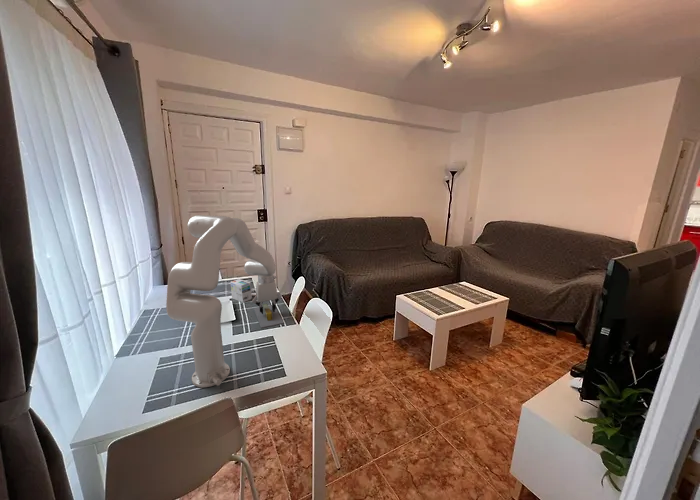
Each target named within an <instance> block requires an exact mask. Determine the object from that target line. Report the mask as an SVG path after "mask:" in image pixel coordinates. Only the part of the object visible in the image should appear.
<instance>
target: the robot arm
mask: <svg viewBox="0 0 700 500" xmlns="http://www.w3.org/2000/svg"><path fill="white" fill-rule="evenodd" d="M187 231H188V233H189V234H190V236H192V237H194V238H196V239H198V240H197V241H196V243H195V244H194V247H193V252H192V260H191V261H181V262H178V263H176V264H174V265H173V266H172V268H171V269H170V272H169V273H168V277H167V285H166V288H167V291H166V304H165V306H166V309H165V310H166V315H167V316H168V317H169V318H170V319H172V320H174V321H179V322H186V323H187V322H188V323H193V324H194V325H195V326H194V328H193V329H192V331H191V333H190V342H191V346H192V355H193V360H194V361H193V362H194V369H195V371H194V372H193V374H192V375H191V383H192V384H193V385H194V386H195V387H197V388H211V387H213V386H221V384H222V382H223V381H225V380H226V379H227V378H228V376H229V375H230V372H231V368H230V365H229V364H228V363H226V362H225V356H224V354H225V353H224V345H223V337H222V325H221V322H222V321H221V318H222V309H223V307H222V306H223V305H222V302H221V300H220V299H219V298H218V297H216V296H213V295H209V294H201V293H191V291H197V292H198V291H200V292H210V291H211V292H212V291H213V290H215V289H216V288H217V287H218V284H219V281H220V280H219V278H220V266H221V256H222V255H221V253H222V250H223V248H224V247H225V245H226V243H227V242H228V241H230V243H231V244H232V245H233V247H234V249H235V250H236V253H238V255H240V256H242V257H245V258H247V259H248V260H247V261H246V262H245V263H244V266H243V269H244V272H245V274H247V275H251V276H257V282H256V284H255V285H256V286H255V287H256V288H255V296H254V297H253V298H252V299H251V302H252V304H255V305H257V306H258V308H260V312H261V313H262V314H263V304H264V302H270V301H271V305H272V310H273V312H275V309H277V307H276V305H277V303H278V302H279V300H281V299H282V298H283V297H282V295H281V294H280V293H279V292H278V290H277V289H278V288H277V284H276V280H275V279H277V275H275V273H276V271H277V267H276V266H277V265H276V262H275V259H274V257H273V256H272V253H270V252H269V251H268V250H267V249H266V248H264V247H263V246H261V245H260V244H258V243H256V240H255V239H254V236H253V235H252V233H251V231H250V229H249V227H248V225H247V223H246V222H245V221H244V220H243V219H241V218H238V217H237V218H236V217H235V218H234V217H230V216H224V215H205V214H204V215H203V214H200V215H199V214H198V215H194V216H192V217H191V218H190V219H189V220H188V223H187Z"/></svg>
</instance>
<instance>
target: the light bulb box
mask: <svg viewBox="0 0 700 500" xmlns="http://www.w3.org/2000/svg"><path fill="white" fill-rule="evenodd" d="M251 284H252V283H251V281H247V280H243V279H240V278H238V279H235V280H231V281H230V290H231V291H230V293H231V298H232V299H233V300H236V301H238V302H241V303H245V302H248V301H250V300H253V294H252V285H251Z"/></svg>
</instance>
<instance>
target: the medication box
mask: <svg viewBox="0 0 700 500" xmlns="http://www.w3.org/2000/svg"><path fill="white" fill-rule="evenodd" d="M262 306H263V311H264V313H265V316H266V318H267V320H268V321H269V320H272V313H271V310H270V308H269V306H270V305H269V304H268V303H263V304H262Z"/></svg>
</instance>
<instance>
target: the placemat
mask: <svg viewBox="0 0 700 500" xmlns="http://www.w3.org/2000/svg"><path fill="white" fill-rule="evenodd" d="M268 306H269V308H270V310H271V313H272V320H269V321H268V320H267V318H266V316H265V313H264V311H263V314H262V313H261V312H260V308H259V307H254V308H253V311H254V314H255V315H256V318H257V321H258V324H259V327H260V329H264V328H271V327H273V326H279V324H280V325H283V324H284V320H283V319H282V317H281V315H280V312H279V311H278V309H277V308H276V309H275V312H273V310H272V304H271V305H268Z"/></svg>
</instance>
